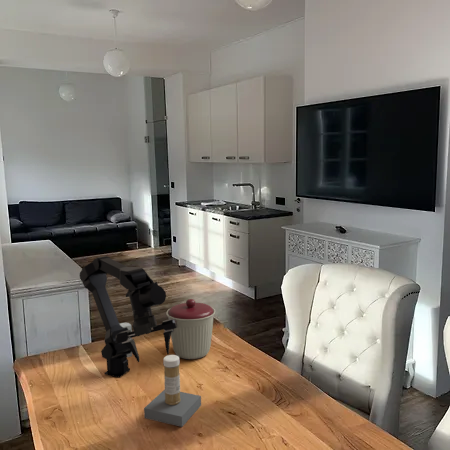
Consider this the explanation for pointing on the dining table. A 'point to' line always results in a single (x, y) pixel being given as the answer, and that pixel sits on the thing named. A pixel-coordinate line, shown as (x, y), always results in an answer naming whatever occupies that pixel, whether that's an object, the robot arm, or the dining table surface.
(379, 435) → the dining table surface
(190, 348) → the canister
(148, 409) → the podium
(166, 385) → the sprinkles bottle
